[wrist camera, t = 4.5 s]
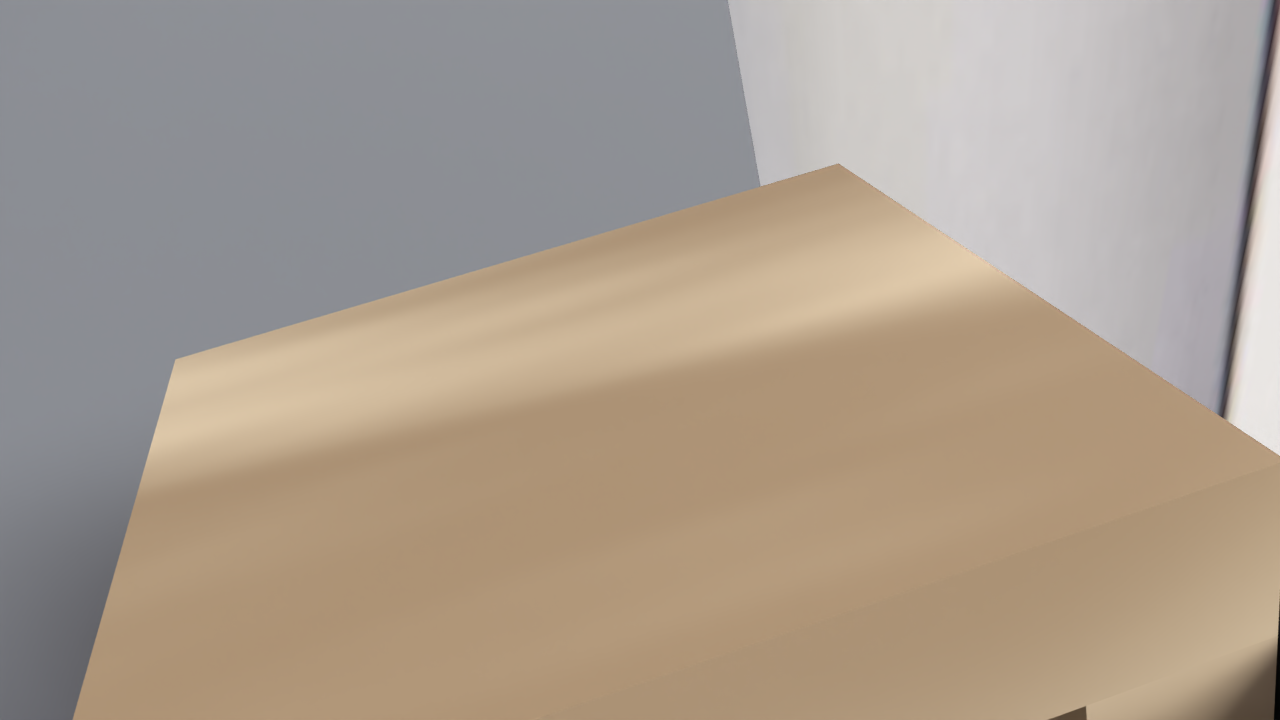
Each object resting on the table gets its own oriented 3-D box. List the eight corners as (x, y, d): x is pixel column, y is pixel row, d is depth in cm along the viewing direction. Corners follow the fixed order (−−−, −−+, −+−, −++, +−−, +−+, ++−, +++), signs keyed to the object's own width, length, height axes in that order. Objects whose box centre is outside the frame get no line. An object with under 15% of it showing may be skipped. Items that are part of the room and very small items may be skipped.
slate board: (801, 490, 21) (818, 513, 20) (-2, 753, 19) (-14, 789, 18) (500, -1162, 12) (511, -1226, 11) (-1096, -929, 10) (-1205, -988, 9)
